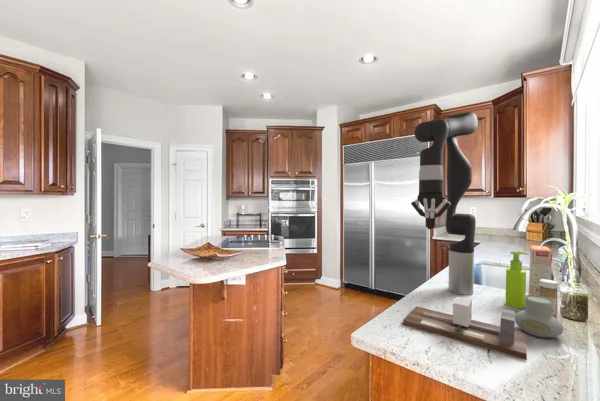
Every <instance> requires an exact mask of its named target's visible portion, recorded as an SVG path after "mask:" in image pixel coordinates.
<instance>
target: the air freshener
mask: <svg viewBox="0 0 600 401" xmlns="http://www.w3.org/2000/svg"><path fill="white" fill-rule="evenodd" d="M515 323H516V324H515V325H517V326H518V327H519V328H520V329H521V330H522V331H523V332H525V333H527V334H529V335H531V336H533V337H536V338H541V339H542V338H543V339H544V338H545V339H548V338H549V339H551V338H557V337H559V336H560V335H562V334H563V332H564V326H563V324H562V323H561V321H560V320H559V319H558V318H557V319H556V318H555V317H553V316H552V303H551V302H550V301H549V300H546V299H543V298H539V297H529V296H527V297H525V308H524V310H520V311H518V312H517V313H515Z"/></svg>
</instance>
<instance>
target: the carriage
mask: <svg viewBox="0 0 600 401" xmlns="http://www.w3.org/2000/svg"><path fill="white" fill-rule="evenodd" d="M472 301H473V300H472V299H471V298H466V297H461V296H456V298H455V299H454V300H453V302H452V315H453V323H454V324H458V325H459V326H458V328H457V331H460V329H461V327H462V326H466V327H469V324H470V322H471V320H472V314H473V313H472V312H473V310H472V309H473V308H472V307H473V306H472V305H473V302H472Z"/></svg>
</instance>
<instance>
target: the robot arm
mask: <svg viewBox="0 0 600 401" xmlns="http://www.w3.org/2000/svg"><path fill="white" fill-rule="evenodd" d="M478 126H479V124H478V117H477V114H475V112H473V111H466V112H460V113H455V114H451V115H448V116H447V117H446V118H438V119H434V120H428V121H427V120H426V121H423V122H420V123H418V124H417V125H416V126H415V129H414V133H413V134H414V137H415V139H416V140H417V142H419V143H429V142H433V143H432V145H431V146H429V147H427V148H424V149H422V150H420V154H419V170H418V195H417V197H416V198H417V199H416V200H414V201H411V203H410V204H411V206H412V207H413V208H414V209H415V211H416V212H417V213H418V215H419V216H420V217H423V218H425V227H426V229H427V230H433V229H434V228H435V227H436V219H437V218H440V217H442V215H443V214H444V213H446V214H445V231H446V233H447V234H449V235H454V236H464V238H463V239H461V240H459V241H455V242H451V243H449V245H448V246H449V247H448V281H447V282H448V285H447V286H448V287H447V288H448V291H449V292H451V293H454V294H459V295H466V296H468V295H473V294H474V272H475V270H474V267H475V266H474V265H475V264H474V263H475V237H476V236H475V234H476V223H477V222H476V217H475V215H474V214H471V213H456V210H457V206H458V204H459V202H460V200H461V199H462V197H463V196H464V195H465V193H466V192H467V191H468V189H469V188H470V186H471V184H472V175H473V174H472V171H473V170H472V168H473V167H472V165H471V162H470V161H469V160H468V158H467V157H466V156H465V155H464V153H463V152H462V150H461V149H460V147H459V144H458V138H457V137H461V136H462V137H463V136H469V135H472V134H474V133H475V132H476V131H477V129H478ZM445 145H446V159H447V160H446V193H447V196H446V199H445V196H444V169H443V154H444V149H445ZM420 205H421V206H422V207H423V209H422V208H421V207H420ZM439 206H442V207H441V208H440V209H439V211H437V208H439Z"/></svg>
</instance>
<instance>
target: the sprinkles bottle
mask: <svg viewBox="0 0 600 401" xmlns="http://www.w3.org/2000/svg"><path fill="white" fill-rule="evenodd" d="M539 285H540V298H543V299H546V300H549V301H550V302H551V303H552V316H553V317H555V318H556V319H557V320H558V289H559V282H558V281H556V280H552V279H551V280H547V279H541V280H539Z"/></svg>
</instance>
